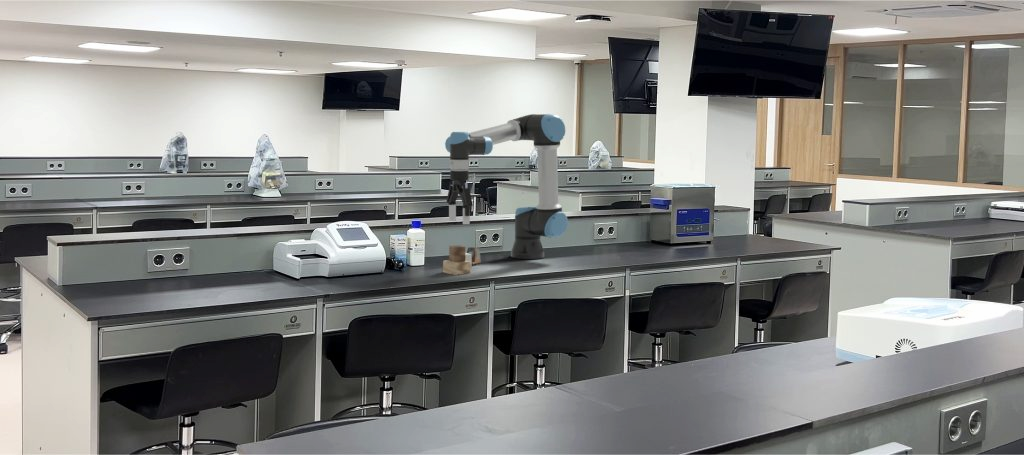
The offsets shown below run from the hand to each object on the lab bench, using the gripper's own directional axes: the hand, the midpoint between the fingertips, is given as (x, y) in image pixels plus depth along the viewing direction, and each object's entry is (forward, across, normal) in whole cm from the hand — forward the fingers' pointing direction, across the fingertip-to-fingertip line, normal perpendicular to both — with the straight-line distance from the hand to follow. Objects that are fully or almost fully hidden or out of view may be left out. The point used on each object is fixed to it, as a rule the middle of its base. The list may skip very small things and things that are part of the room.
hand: (459, 222), depth 379 cm
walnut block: (+16, 0, -1) cm, 16 cm away
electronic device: (+21, -17, +14) cm, 30 cm away
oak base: (+21, +1, -1) cm, 21 cm away
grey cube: (+21, -10, +6) cm, 24 cm away
